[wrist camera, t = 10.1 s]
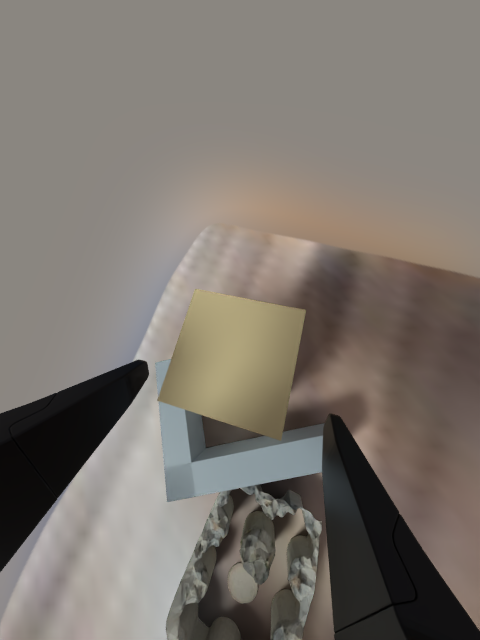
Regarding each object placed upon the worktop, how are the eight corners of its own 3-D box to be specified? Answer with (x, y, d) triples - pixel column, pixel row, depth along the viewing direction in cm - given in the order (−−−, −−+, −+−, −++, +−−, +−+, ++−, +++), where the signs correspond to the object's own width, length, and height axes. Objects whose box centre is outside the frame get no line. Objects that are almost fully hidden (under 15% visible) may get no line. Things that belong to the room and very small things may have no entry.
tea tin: (275, 408, 18) (281, 440, 8) (219, 391, 19) (157, 400, 9) (287, 349, 19) (306, 310, 9) (233, 337, 20) (195, 288, 10)
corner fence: (337, 449, 17) (353, 465, 13) (187, 479, 18) (167, 502, 14) (300, 335, 20) (306, 325, 16) (174, 366, 20) (155, 362, 17)
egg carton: (268, 677, 14) (267, 793, 10) (175, 597, 16) (143, 668, 12) (324, 505, 16) (341, 545, 12) (236, 453, 18) (226, 473, 14)
